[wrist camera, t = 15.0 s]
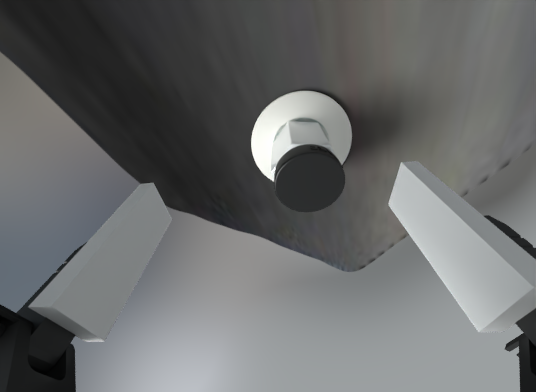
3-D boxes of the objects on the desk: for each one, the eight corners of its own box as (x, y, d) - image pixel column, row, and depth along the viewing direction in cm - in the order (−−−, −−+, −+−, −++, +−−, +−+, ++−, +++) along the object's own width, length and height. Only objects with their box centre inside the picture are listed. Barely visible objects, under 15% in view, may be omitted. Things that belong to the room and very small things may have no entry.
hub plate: (233, 150, 35) (232, 152, 35) (298, 63, 28) (299, 63, 27) (301, 199, 41) (301, 201, 40) (371, 137, 33) (373, 139, 33)
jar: (333, 158, 35) (355, 201, 25) (288, 177, 37) (293, 223, 27) (313, 107, 30) (331, 135, 20) (264, 133, 33) (259, 169, 23)
